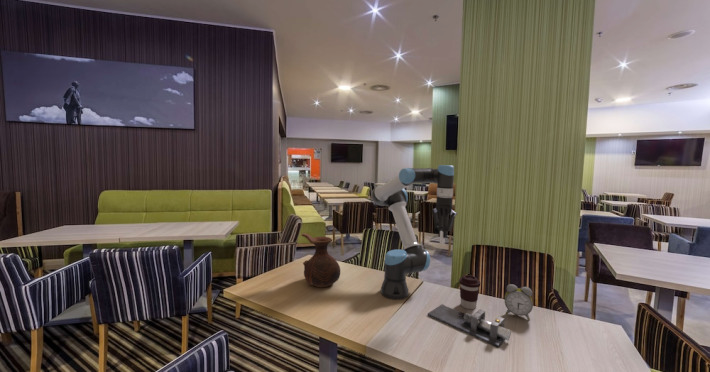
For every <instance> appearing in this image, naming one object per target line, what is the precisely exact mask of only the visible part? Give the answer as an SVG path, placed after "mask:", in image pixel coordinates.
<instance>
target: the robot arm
mask: <svg viewBox="0 0 710 372" xmlns="http://www.w3.org/2000/svg"><path fill="white" fill-rule="evenodd" d="M454 177H455V167H454V165H450V164H449V165H447V164H439V165H438V166H437V168H433V167H424V168H423V167H422V168H421V167H420V168H419V167H417V168H416V167H405V168H401V169H400V170H399V173H398V175H397V176H395V177H393V178H392V179H391V180H389V181H387V182H385V183H384V184H382V185H377V186H375V188H373V189H372V191H371V194H370V197H371V200H372V202H373V203H374V204H376V205H378V206H380V207H383V206H385V207H386V206H387V208H388V211H390V212H392V216H393V218H394V221H395V225H396V229H397V231H398V234H399V238H400V240H401V243H402V249H399V248H398V249H391V250H389V251H387V252H386V253H385V256H384V277H383V278H384V279H383V282H382V284H381V287H380V294H381V296H383V297H384V298H387V299H390V300H403V299H406V298H407V297H408V296H409V293H410V291H409V287H408V285H407V278H406V277H407V274H412V273H417V272H419V273H421V272H423V271H426V270H428V269H429V267H430V266H431V256H430V253H429V251H428V250H427V249H425V248H423V245H422V244H421V243H419V242H418V240H417V237H416V233H415V231H414V229H413V226H412V223H411V220H410V217H409V214H408V212H407V208H406V206H407V203H408V200H409V199H408V197H409V196H408V192H407V190H406V188H408V187H410V186H411V185H414V184H435V185H436V184H437V186H436V201H435V202H436V204H435V208H433V209H431V210H430V211H431V214H432V218H433V223H434V229H436V230H437V231H438V238H439V245H442V246H443V245H445V244H446V238H447V237H448V232H450V231H452V229H453V225H454V221H455V219H456V216H457V214H458V212H455V211H454V210H453V209H454V208H453V202H454V201H453V197H454V181H455V180H454V179H455V178H454Z"/></svg>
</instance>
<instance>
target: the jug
mask: <svg viewBox="0 0 710 372" xmlns="http://www.w3.org/2000/svg"><path fill="white" fill-rule="evenodd" d="M301 236H302V237H304V238H305V239H306V240H308V242H309V243H311V244H313V245H314V247H315V251H314V254H313V255H312V256H311V257H310V258H309V259H308V260H305V261H303V262H302V265H303V266H304V269H303V276H304V279H305V281H306V283H307V284H308V285H311V286H314V287H316V288H327V287H330V286H332V285H333V284H335V283H336V282H338V280H339V279H340V276H341V267H340V265H339V262H338V260H336V259H335V258H334V257H333V256H332V255H331V254H329V252H328V247H329V246H328V245H329V244H330V243H331V242H332V241H333V239H332V238H331V237H329V236H314V237H313V236H311V235H310V234H309V233H305V232H302V233H301Z"/></svg>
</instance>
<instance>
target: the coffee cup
mask: <svg viewBox="0 0 710 372" xmlns="http://www.w3.org/2000/svg"><path fill="white" fill-rule="evenodd" d="M458 281H459V284H460V285H459V286H460V287H459V293H460V294H459V295H460V305H461V307H462V308H465V309H467V310H475V309H476V307H477V302H478V299H479V291H480V289H479V288H480V287H481V280H479V279H478V278H477V277H476V276H474V275H471V274H466V275H465V274H464V275H463V276H461V277H460V278H459V280H458Z"/></svg>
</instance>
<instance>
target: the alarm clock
mask: <svg viewBox="0 0 710 372" xmlns="http://www.w3.org/2000/svg"><path fill="white" fill-rule="evenodd" d="M532 297H533V291H532V289H531V288H530V287H528V286H521V287H520V288H519V287H518V286H517V285H515V284H511V283H509V284H508V285H507V286H506V292H505V294H504V305H505V308H506V309H507V310H506V311H505V315H509V314H510V313H511V314H513V315H516V316H520V317H521V316H525V318H526V319H527V320H528V321H530V316H529V314H530V313H531V312H532V311H533V310H534V309H533V308H534V302H533V298H532Z"/></svg>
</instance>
